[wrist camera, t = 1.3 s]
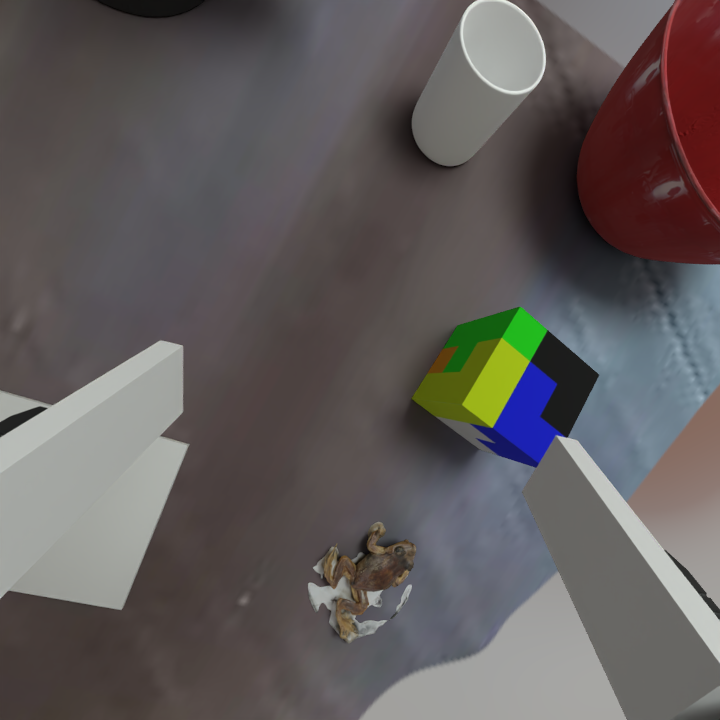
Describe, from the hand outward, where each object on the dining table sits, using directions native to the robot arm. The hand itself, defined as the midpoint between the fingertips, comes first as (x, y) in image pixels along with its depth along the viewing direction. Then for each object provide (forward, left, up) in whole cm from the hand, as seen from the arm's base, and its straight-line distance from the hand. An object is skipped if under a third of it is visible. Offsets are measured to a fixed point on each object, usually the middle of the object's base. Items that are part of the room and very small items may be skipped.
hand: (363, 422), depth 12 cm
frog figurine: (+18, -2, -23) cm, 29 cm away
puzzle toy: (+7, +17, -22) cm, 29 cm away
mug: (-21, +29, -22) cm, 42 cm away
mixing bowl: (-6, +49, -22) cm, 54 cm away
